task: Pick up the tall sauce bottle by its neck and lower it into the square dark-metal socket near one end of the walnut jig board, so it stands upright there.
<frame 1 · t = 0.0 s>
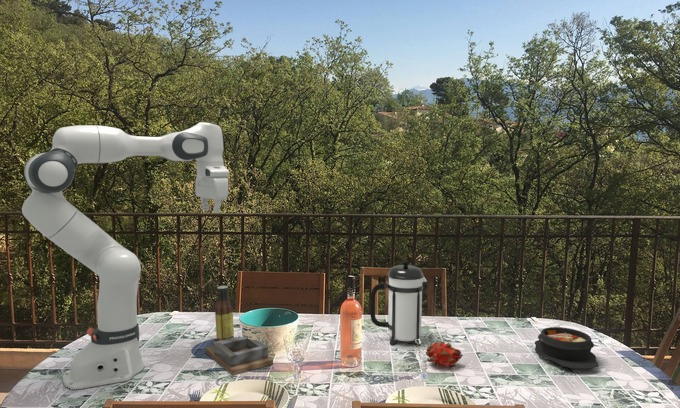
hand: (211, 211, 166), 48 cm above the table, tool pointing down, fingers open, 8 cm apart
coffee press: (401, 341, 178), on the table
dragon fruit: (443, 366, 157), on the table
jig board: (238, 358, 162), on the table
sauce bottle: (224, 340, 178), on the table
casserole: (564, 359, 163), on the table
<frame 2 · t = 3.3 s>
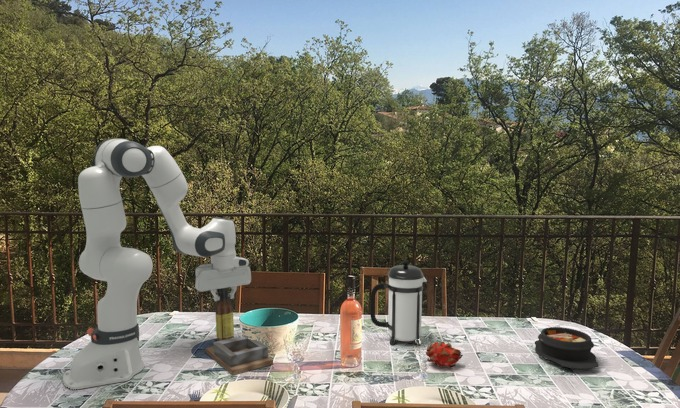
hand: (224, 299, 177), 15 cm above the table, tool pointing down, fingers closed on sauce bottle, 4 cm apart
sauce bottle: (224, 340, 178), on the table, touching gripper
everything else where it was.
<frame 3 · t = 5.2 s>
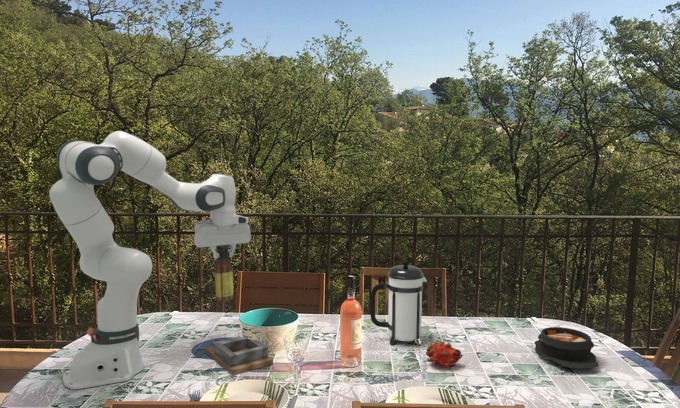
hand: (223, 257, 175), 31 cm above the table, tool pointing down, fingers closed on sauce bottle, 4 cm apart
sauce bottle: (224, 300, 177), point 15 cm above the table, touching gripper
everything else where it was.
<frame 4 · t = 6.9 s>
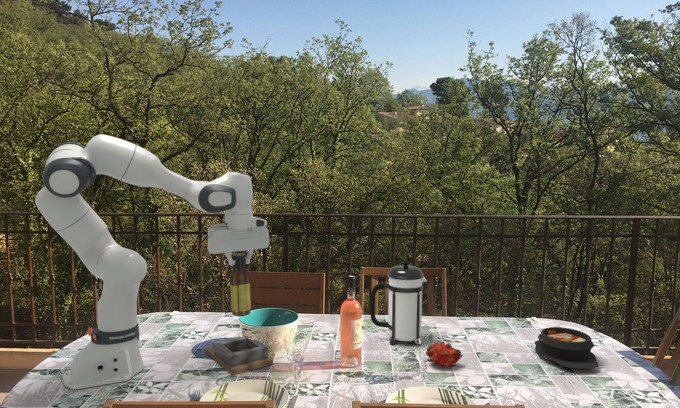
hand: (239, 264, 157), 32 cm above the table, tool pointing down, fingers closed on sauce bottle, 4 cm apart
sauce bottle: (240, 314, 159), point 15 cm above the table, touching gripper
everything else where it was.
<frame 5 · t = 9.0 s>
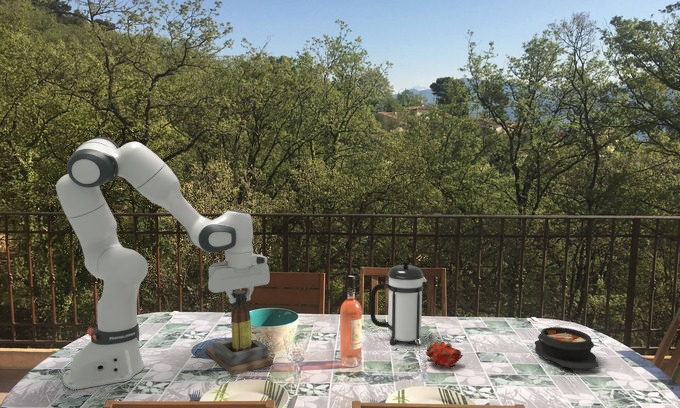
hand: (240, 301, 158), 20 cm above the table, tool pointing down, fingers closed on sauce bottle, 4 cm apart
sauce bottle: (241, 351, 160), point 3 cm above the table, touching gripper
everything else where it was.
when the fingers open (18 cm above the table, at t = 10.5 s): sauce bottle stays where it is, resting on jig board.
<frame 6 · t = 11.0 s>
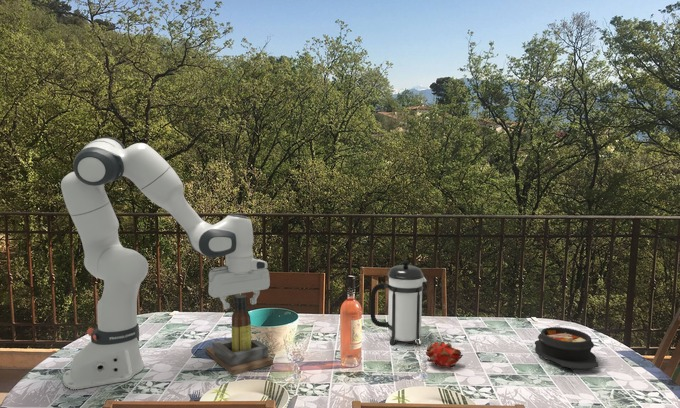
hand: (240, 306, 159), 18 cm above the table, tool pointing down, fingers open, 8 cm apart
sauce bottle: (241, 355, 160), point 1 cm above the table, touching jig board
everything else where it was.
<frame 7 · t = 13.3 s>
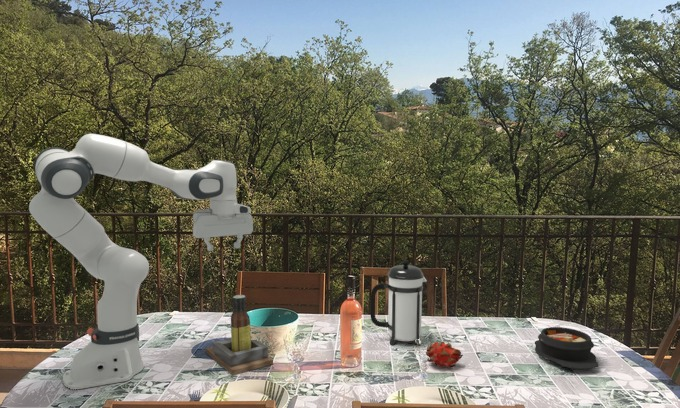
hand: (223, 249, 165), 35 cm above the table, tool pointing down, fingers open, 8 cm apart
nothing on the table moved.
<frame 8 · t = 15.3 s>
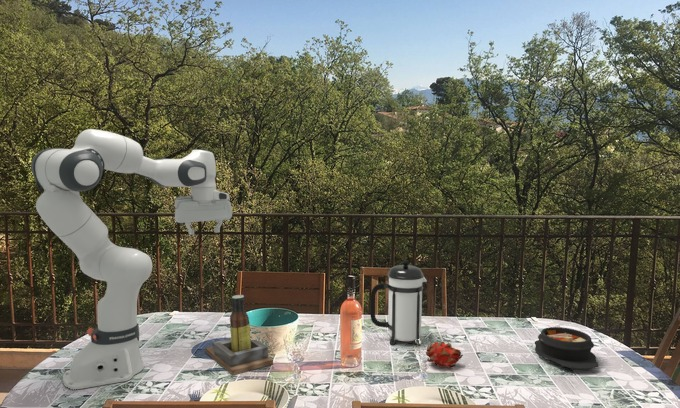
hand: (204, 233, 176), 39 cm above the table, tool pointing down, fingers open, 8 cm apart
nothing on the table moved.
at the end: sauce bottle 0.2 cm from the target spot on the jig board, point 1.3 cm above the jig board's base; sauce bottle tilted 1°; the gripper is holding nothing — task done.
